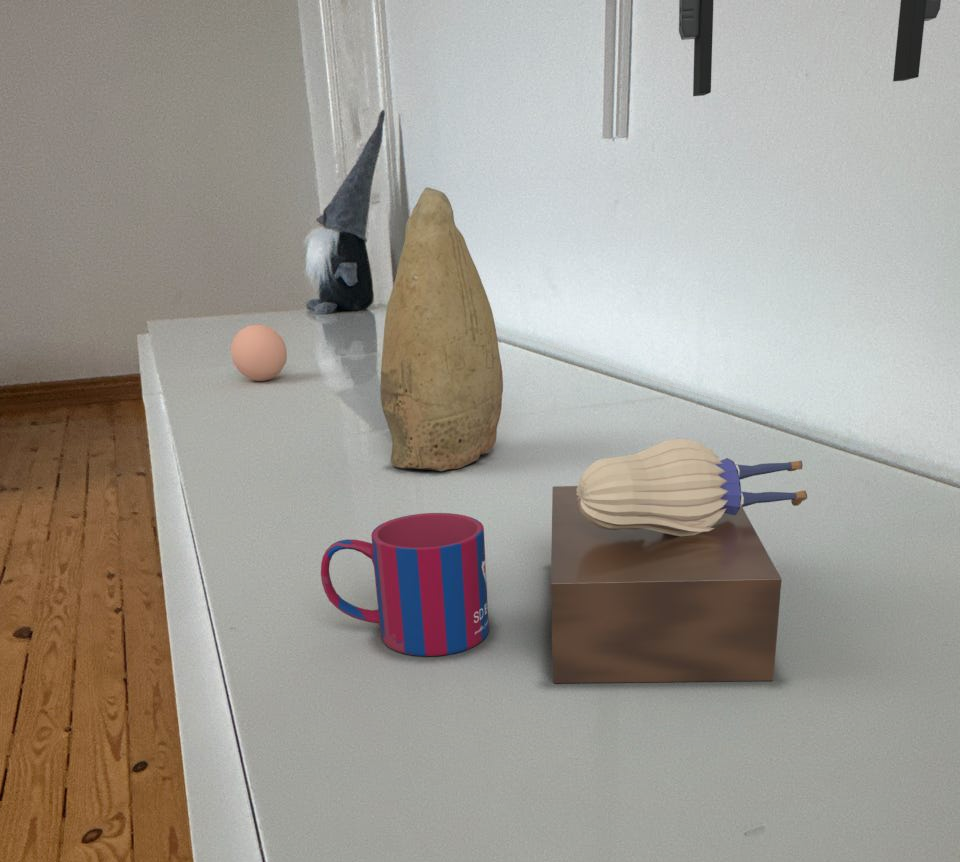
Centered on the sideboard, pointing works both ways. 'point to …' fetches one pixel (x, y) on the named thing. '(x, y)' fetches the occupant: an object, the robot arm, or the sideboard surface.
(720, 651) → the walnut block
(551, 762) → the sideboard surface
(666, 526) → the figurine
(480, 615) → the mug
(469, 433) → the sculpture
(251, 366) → the toy ball
